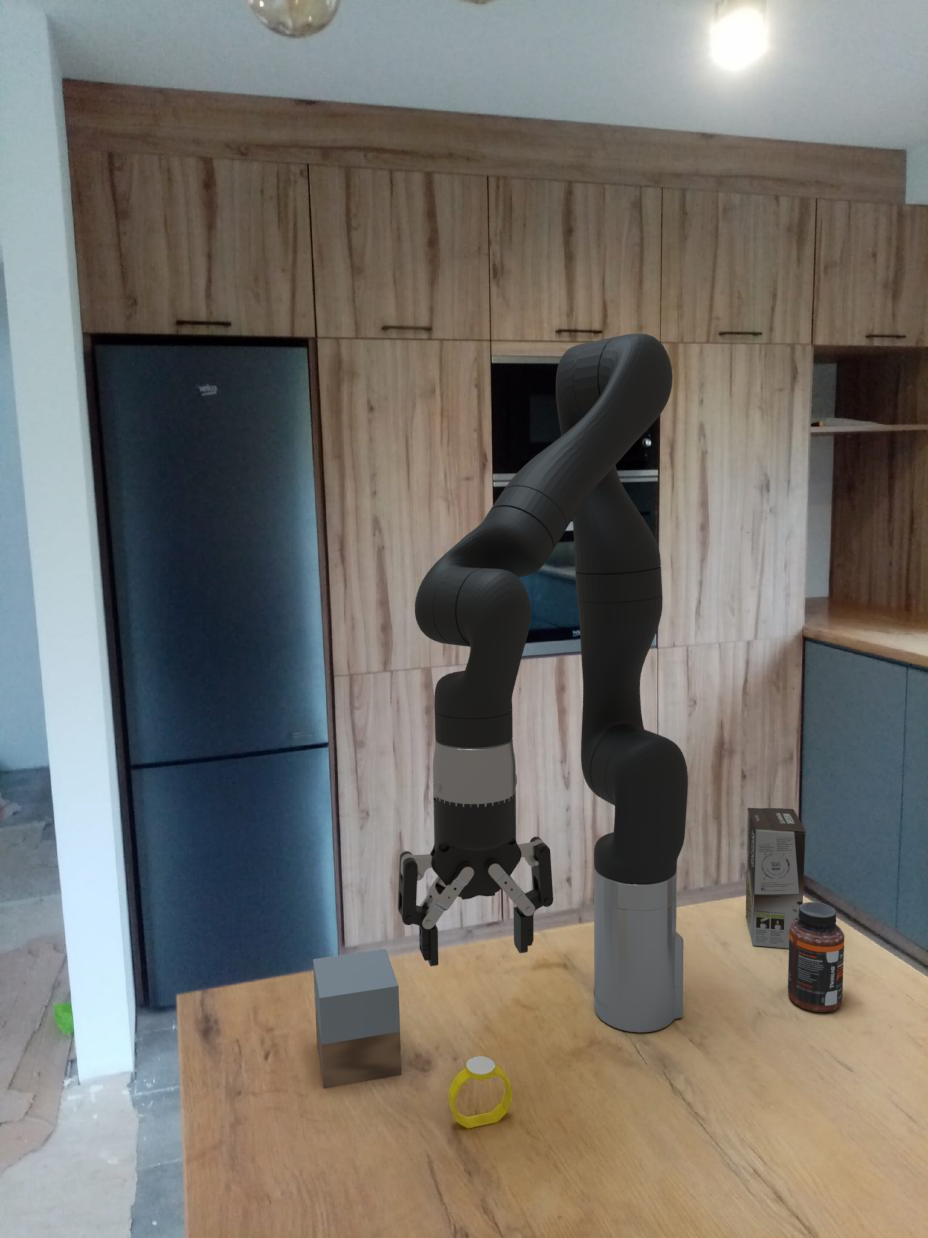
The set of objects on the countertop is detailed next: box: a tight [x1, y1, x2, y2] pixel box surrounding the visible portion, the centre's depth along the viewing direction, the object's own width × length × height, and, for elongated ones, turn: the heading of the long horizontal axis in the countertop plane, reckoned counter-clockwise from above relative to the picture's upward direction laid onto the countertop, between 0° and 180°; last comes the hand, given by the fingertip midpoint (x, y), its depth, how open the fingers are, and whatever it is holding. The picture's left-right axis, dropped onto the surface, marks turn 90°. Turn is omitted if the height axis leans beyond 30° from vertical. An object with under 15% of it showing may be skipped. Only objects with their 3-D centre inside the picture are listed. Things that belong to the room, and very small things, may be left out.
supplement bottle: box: [787, 901, 845, 1013], centre depth 103 cm, size 6×6×11 cm
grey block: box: [312, 948, 401, 1045], centre depth 94 cm, size 8×8×5 cm
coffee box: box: [745, 807, 807, 950], centre depth 119 cm, size 9×6×16 cm
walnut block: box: [314, 1005, 402, 1090], centre depth 94 cm, size 8×8×5 cm
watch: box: [447, 1055, 513, 1130], centre depth 84 cm, size 6×3×6 cm, turn 105°
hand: (476, 955), depth 82 cm, fingers open, 8 cm apart
